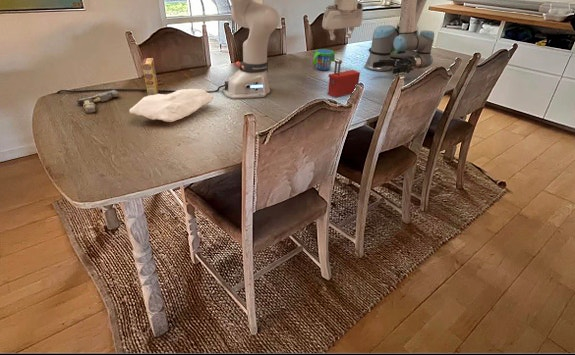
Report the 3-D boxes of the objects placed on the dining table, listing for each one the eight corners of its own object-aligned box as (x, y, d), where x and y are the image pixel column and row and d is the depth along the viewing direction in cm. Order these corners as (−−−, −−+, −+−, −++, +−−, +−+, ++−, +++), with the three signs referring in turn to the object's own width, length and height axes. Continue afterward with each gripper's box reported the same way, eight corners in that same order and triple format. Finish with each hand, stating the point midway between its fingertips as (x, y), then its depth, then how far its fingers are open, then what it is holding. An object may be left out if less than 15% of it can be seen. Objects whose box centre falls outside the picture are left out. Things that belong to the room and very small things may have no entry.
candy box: (157, 97, 164) (152, 63, 155) (147, 98, 163) (141, 63, 155) (158, 91, 171) (153, 57, 163) (149, 91, 170) (143, 58, 162)
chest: (334, 97, 173) (336, 79, 168) (327, 94, 176) (329, 76, 172) (357, 92, 180) (359, 74, 175) (350, 89, 184) (352, 72, 179)
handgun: (128, 97, 156) (111, 87, 164) (86, 107, 144) (70, 97, 152) (129, 103, 157) (113, 94, 165) (88, 114, 146) (72, 103, 154)
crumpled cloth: (117, 110, 146) (113, 90, 140) (195, 92, 166) (194, 73, 160) (143, 139, 134) (140, 118, 128) (223, 116, 154) (224, 96, 148)
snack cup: (328, 65, 219) (329, 47, 214) (339, 69, 212) (341, 51, 206) (307, 68, 212) (308, 50, 206) (318, 73, 204) (319, 54, 199)
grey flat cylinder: (430, 54, 248) (433, 40, 243) (396, 60, 230) (398, 45, 226) (391, 47, 273) (393, 34, 268) (357, 52, 255) (359, 38, 251)
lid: (335, 79, 168) (337, 61, 163) (328, 76, 171) (330, 58, 167) (359, 74, 175) (362, 57, 171) (352, 71, 179) (354, 54, 174)
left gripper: (330, 6, 147) (327, 42, 154) (366, 4, 157) (361, 38, 164) (320, 4, 151) (317, 39, 158) (356, 2, 161) (352, 35, 169)
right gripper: (428, 75, 189) (401, 81, 179) (391, 65, 207) (364, 70, 196) (431, 61, 186) (404, 66, 175) (393, 51, 203) (366, 55, 192)
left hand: (340, 38), depth 162 cm, fingers open, 8 cm apart
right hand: (383, 68), depth 186 cm, fingers open, 13 cm apart
